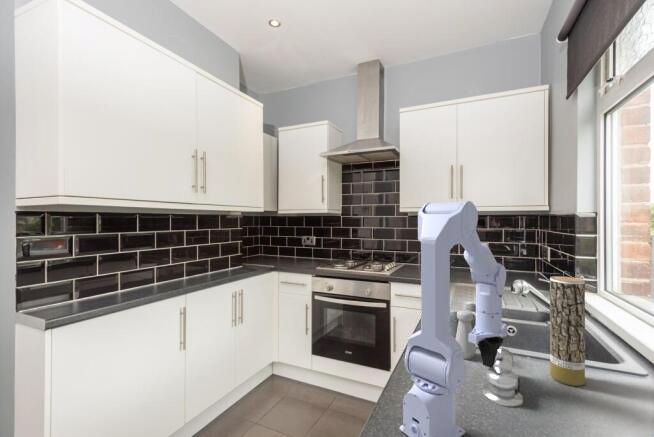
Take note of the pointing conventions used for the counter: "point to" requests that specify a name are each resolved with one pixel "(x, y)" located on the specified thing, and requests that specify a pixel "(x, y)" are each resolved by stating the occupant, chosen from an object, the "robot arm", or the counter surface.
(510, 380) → the elbow
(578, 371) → the paper tube
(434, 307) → the robot arm
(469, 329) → the salt shaker
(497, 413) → the counter surface
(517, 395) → the duct stub
